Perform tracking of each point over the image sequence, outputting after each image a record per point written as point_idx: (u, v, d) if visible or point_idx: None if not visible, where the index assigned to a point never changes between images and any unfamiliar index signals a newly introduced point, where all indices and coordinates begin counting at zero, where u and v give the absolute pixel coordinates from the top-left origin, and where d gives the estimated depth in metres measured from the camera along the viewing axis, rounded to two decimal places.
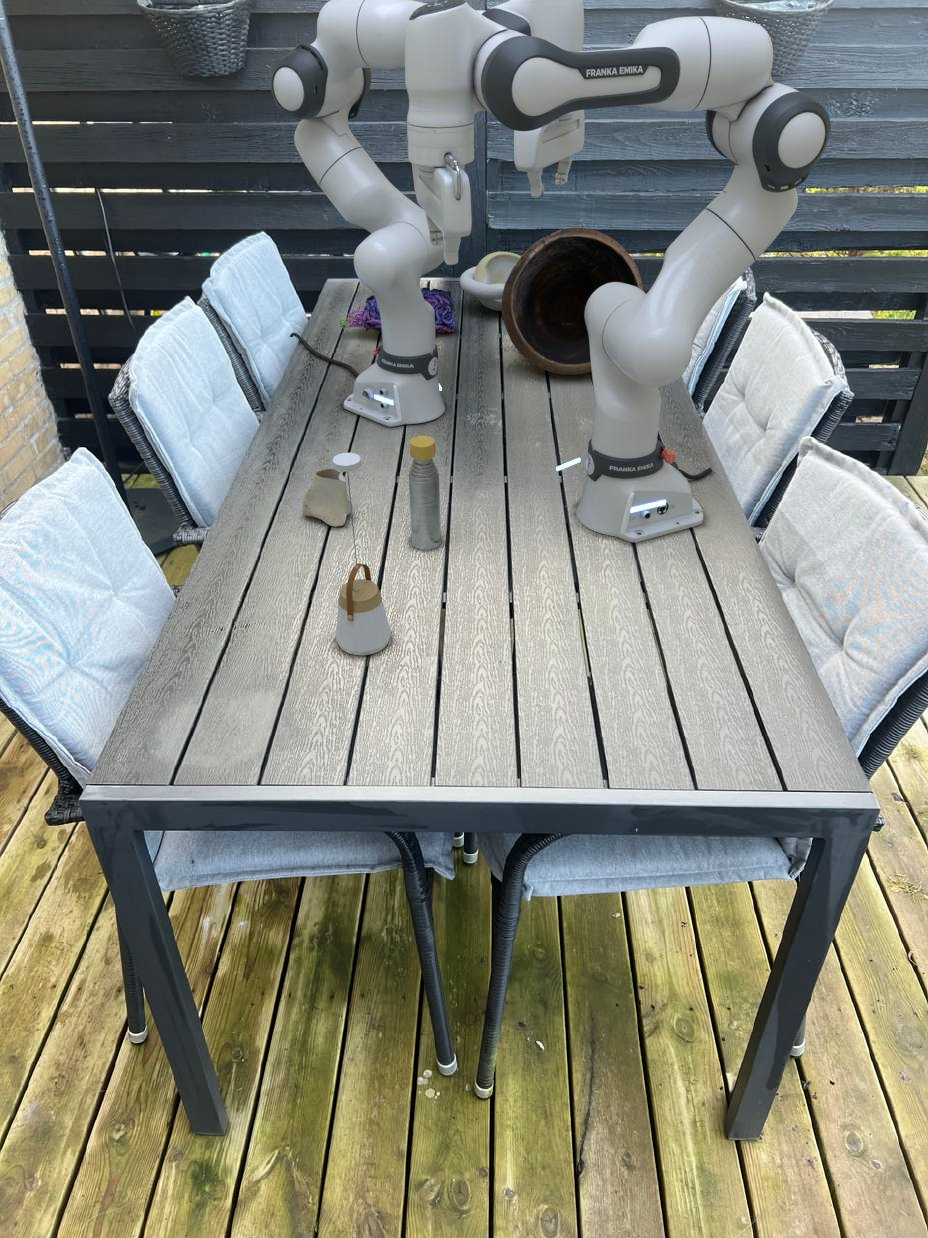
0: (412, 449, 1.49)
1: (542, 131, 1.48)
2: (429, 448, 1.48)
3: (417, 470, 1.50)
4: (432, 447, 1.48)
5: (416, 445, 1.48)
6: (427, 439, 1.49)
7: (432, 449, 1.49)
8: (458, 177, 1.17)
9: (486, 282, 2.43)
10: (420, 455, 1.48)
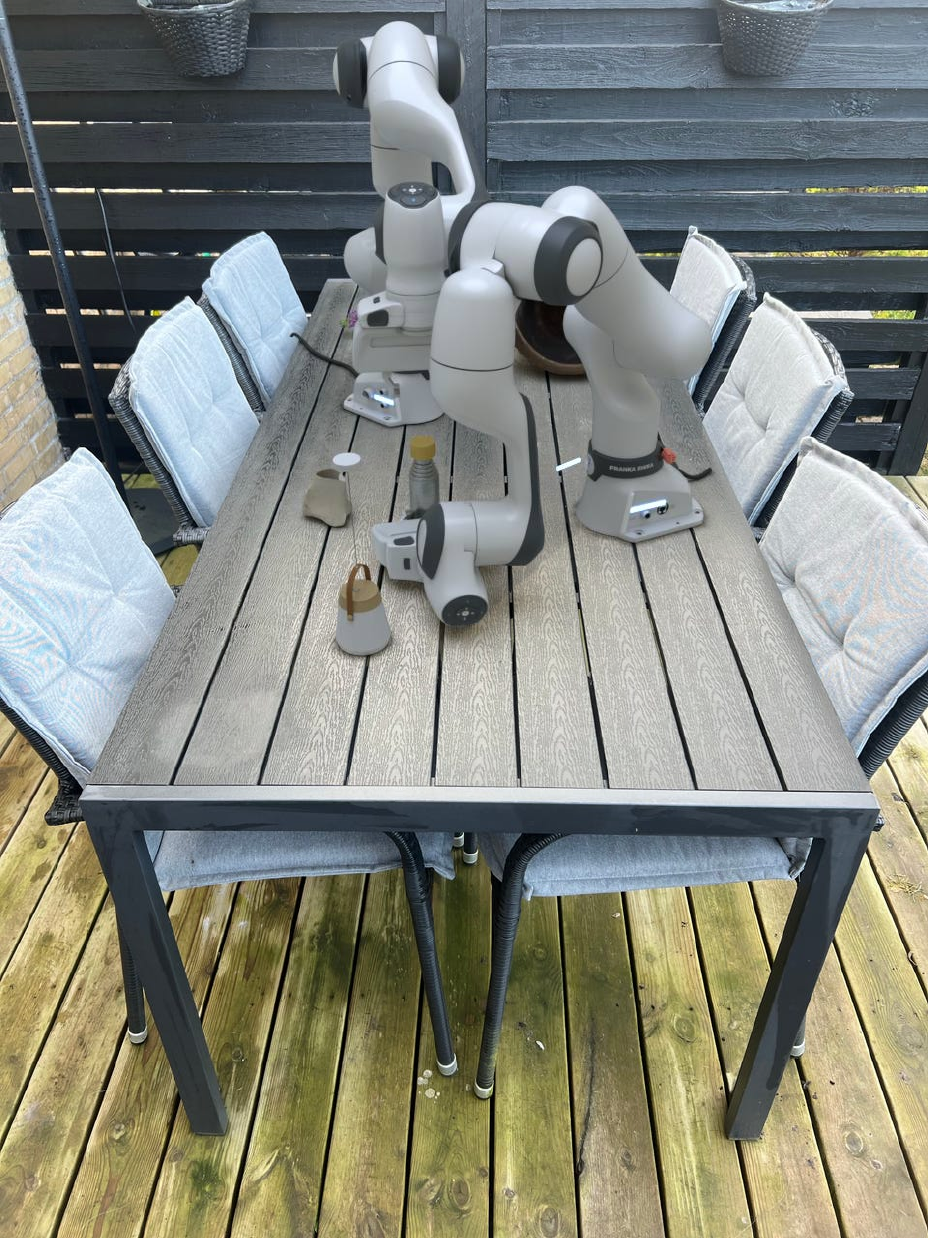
0: (412, 449, 1.49)
1: (360, 336, 1.35)
2: (429, 448, 1.48)
3: (417, 470, 1.50)
4: (432, 447, 1.48)
5: (416, 445, 1.48)
6: (427, 439, 1.49)
7: (432, 449, 1.49)
8: None
9: None
10: (420, 455, 1.48)
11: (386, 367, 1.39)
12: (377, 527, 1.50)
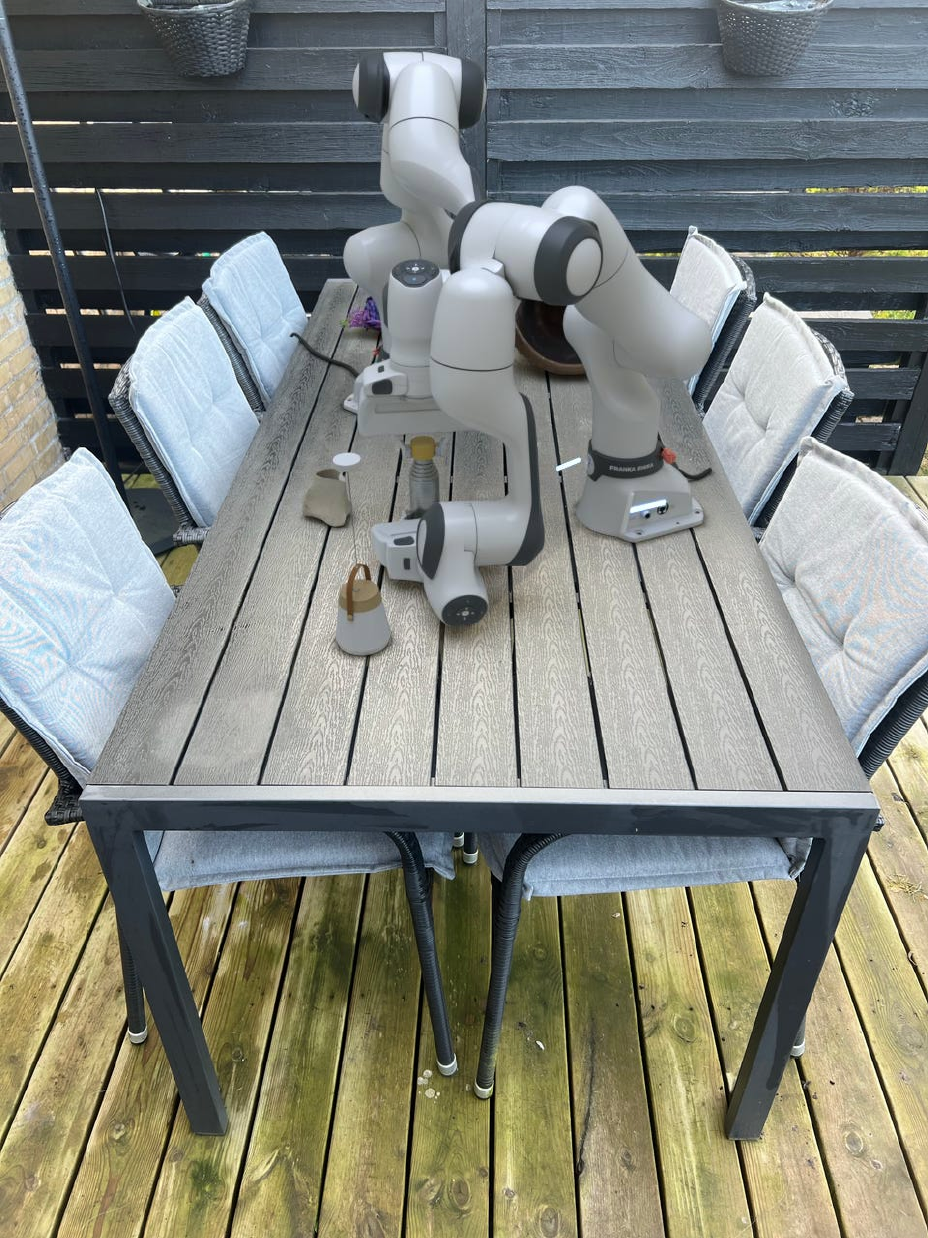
0: (412, 449, 1.49)
1: (365, 403, 1.41)
2: (429, 448, 1.48)
3: (417, 470, 1.50)
4: (432, 447, 1.48)
5: (416, 445, 1.48)
6: (427, 439, 1.49)
7: (432, 449, 1.49)
8: None
9: None
10: (420, 455, 1.48)
11: (390, 431, 1.45)
12: (376, 527, 1.50)
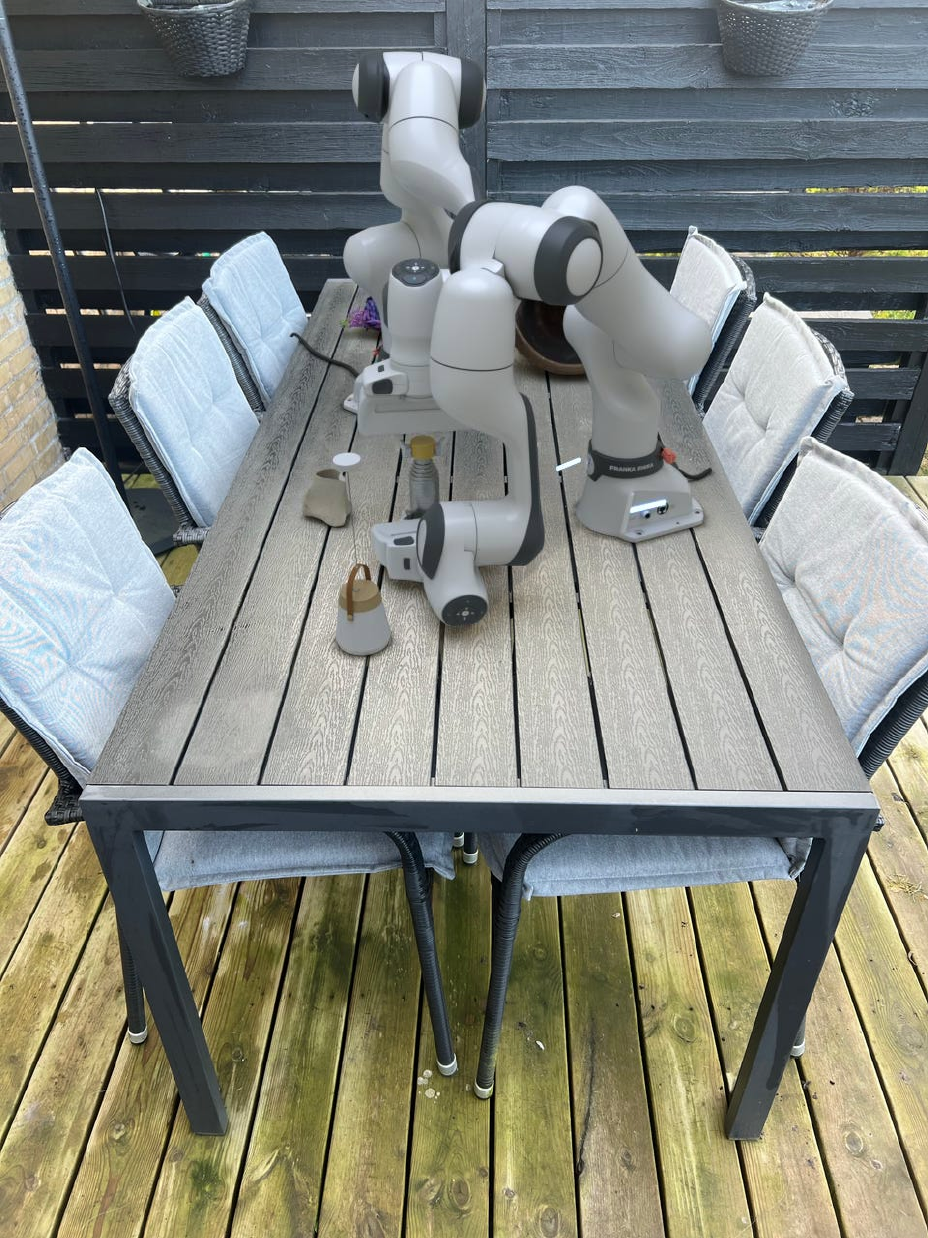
0: (428, 450, 1.48)
1: (365, 403, 1.41)
2: None
3: (417, 470, 1.50)
4: None
5: (430, 443, 1.48)
6: (419, 438, 1.50)
7: None
8: None
9: None
10: (434, 450, 1.49)
11: (390, 431, 1.45)
12: (376, 527, 1.50)
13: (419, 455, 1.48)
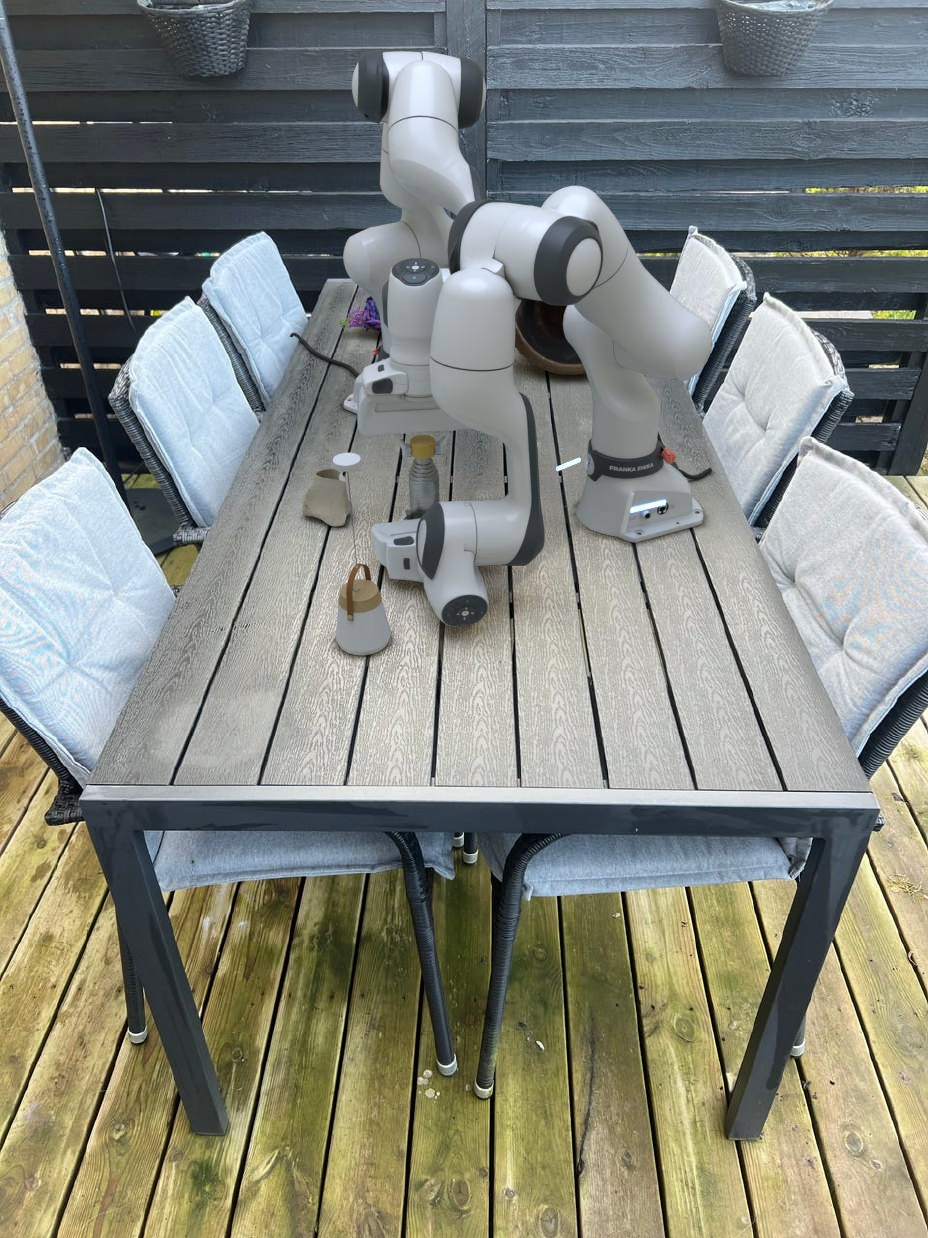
0: None
1: (365, 402, 1.41)
2: None
3: (417, 470, 1.50)
4: None
5: (429, 436, 1.50)
6: (416, 441, 1.49)
7: None
8: None
9: None
10: None
11: (390, 430, 1.45)
12: (376, 527, 1.50)
13: (434, 451, 1.49)
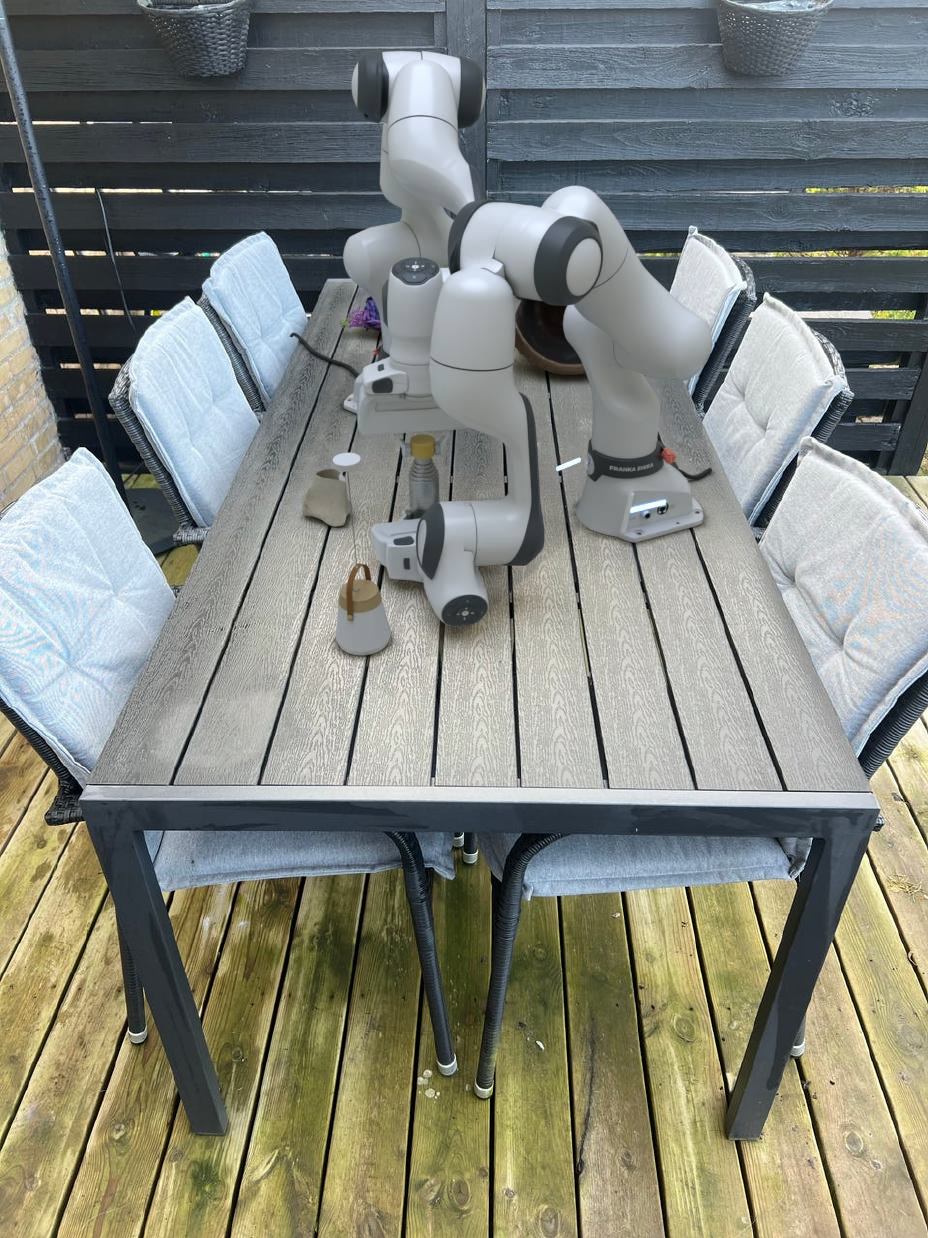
0: None
1: (365, 402, 1.41)
2: (410, 444, 1.49)
3: (417, 470, 1.50)
4: (412, 446, 1.48)
5: (415, 436, 1.50)
6: (424, 442, 1.48)
7: (412, 448, 1.48)
8: None
9: None
10: None
11: (390, 430, 1.45)
12: (376, 527, 1.50)
13: None
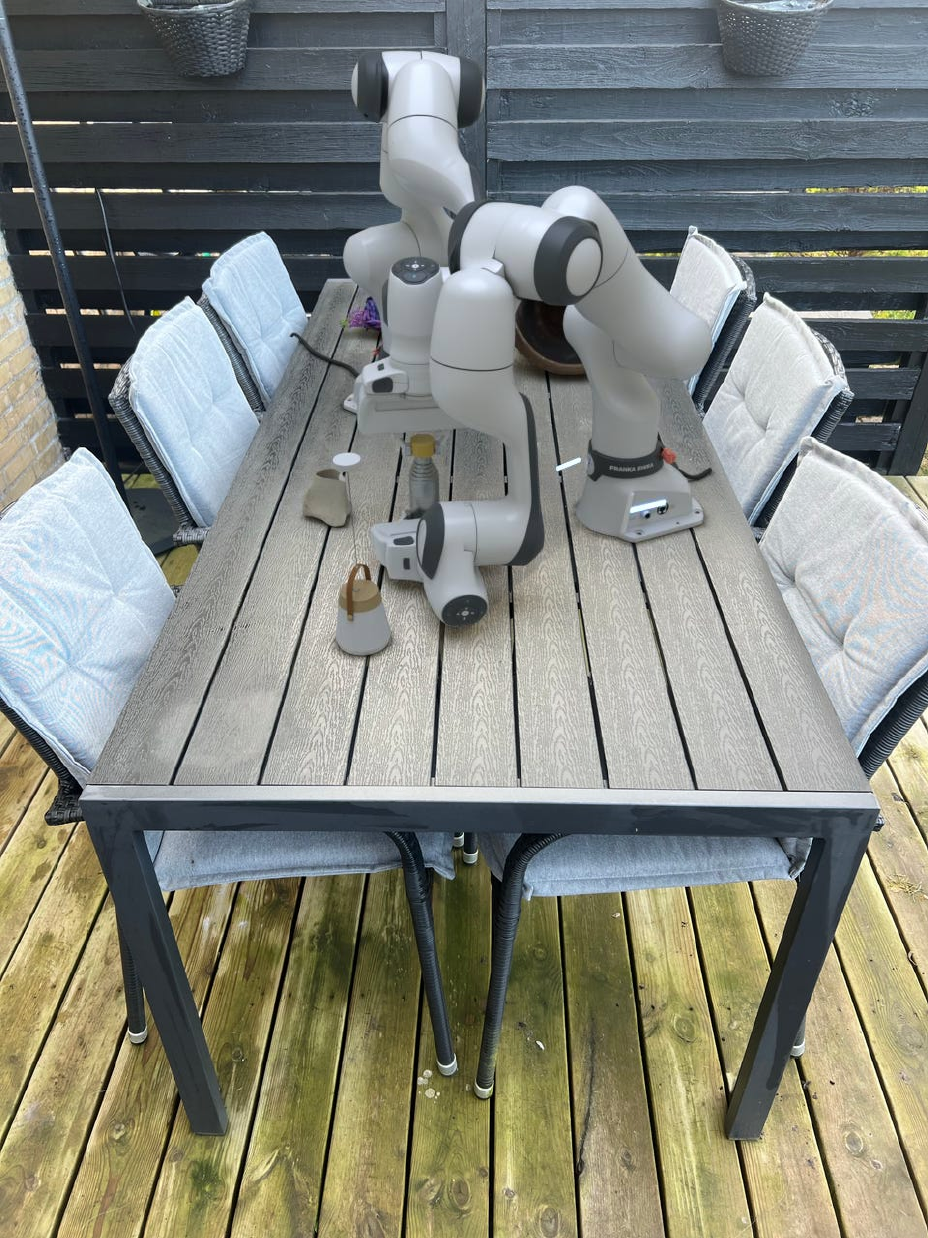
0: (410, 445, 1.49)
1: (365, 401, 1.41)
2: (424, 447, 1.48)
3: (417, 470, 1.50)
4: (428, 446, 1.48)
5: (413, 442, 1.48)
6: (428, 438, 1.49)
7: (428, 448, 1.48)
8: None
9: None
10: (415, 452, 1.48)
11: (390, 429, 1.45)
12: (376, 527, 1.50)
13: None
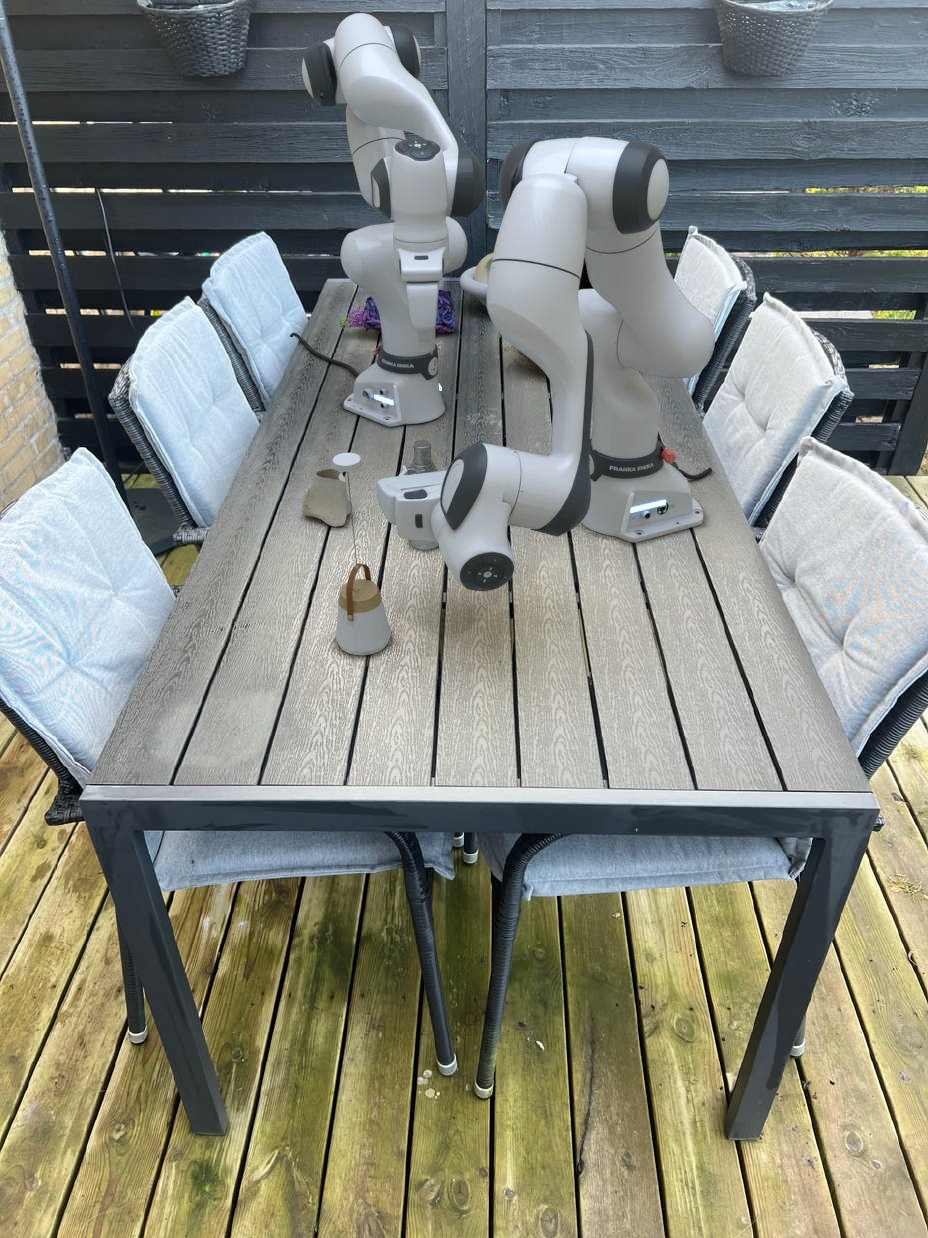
0: None
1: (438, 291, 1.44)
2: None
3: (417, 470, 1.50)
4: None
5: None
6: None
7: None
8: None
9: (486, 282, 2.43)
10: None
11: None
12: (384, 481, 1.32)
13: None
